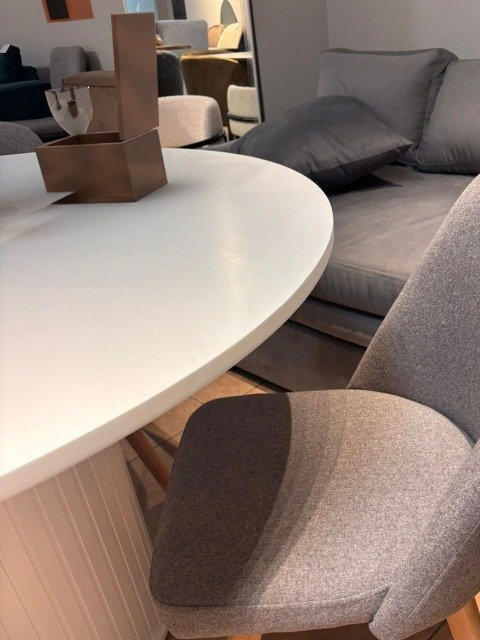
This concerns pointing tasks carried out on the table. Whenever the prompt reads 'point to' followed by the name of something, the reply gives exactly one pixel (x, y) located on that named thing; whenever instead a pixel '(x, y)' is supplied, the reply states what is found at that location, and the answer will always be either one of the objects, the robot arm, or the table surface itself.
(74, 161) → the chest
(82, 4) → the block
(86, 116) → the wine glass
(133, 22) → the lid
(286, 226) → the table surface
